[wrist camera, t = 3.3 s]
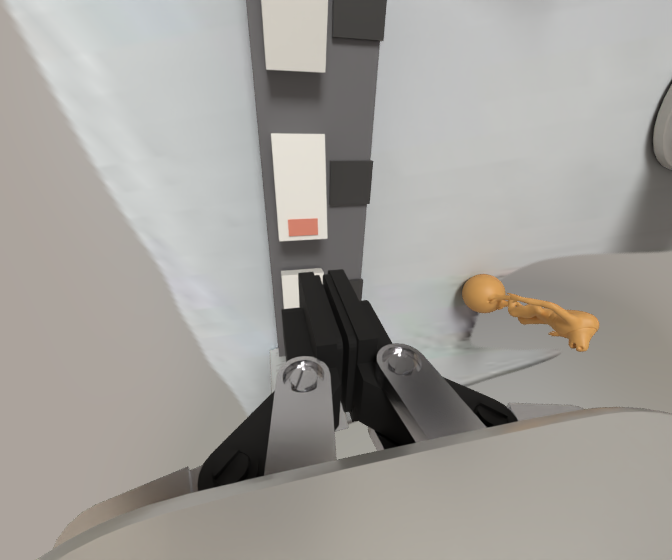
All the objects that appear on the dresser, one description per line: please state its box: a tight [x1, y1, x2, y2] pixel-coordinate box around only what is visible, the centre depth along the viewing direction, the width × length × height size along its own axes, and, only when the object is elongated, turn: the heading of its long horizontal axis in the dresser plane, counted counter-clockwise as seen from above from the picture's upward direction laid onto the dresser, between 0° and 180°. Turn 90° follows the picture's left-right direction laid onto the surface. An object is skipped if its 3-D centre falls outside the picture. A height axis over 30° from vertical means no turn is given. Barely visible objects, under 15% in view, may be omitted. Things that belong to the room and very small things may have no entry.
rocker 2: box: [271, 133, 327, 241], centre depth 18 cm, size 3×6×1 cm, turn 178°
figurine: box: [462, 274, 599, 352], centre depth 27 cm, size 8×6×12 cm
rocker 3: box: [281, 268, 324, 309], centre depth 23 cm, size 3×6×1 cm, turn 178°
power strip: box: [246, 0, 387, 357], centre depth 20 cm, size 7×36×4 cm, turn 178°
